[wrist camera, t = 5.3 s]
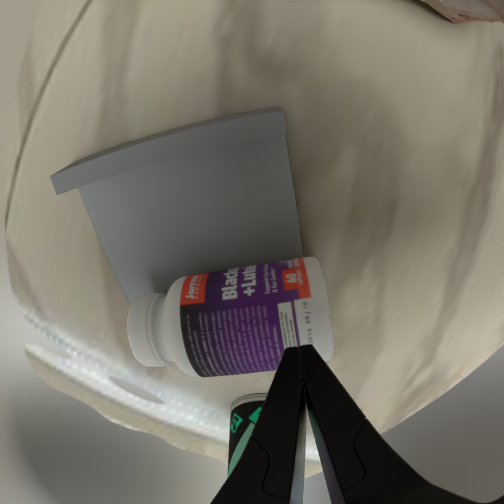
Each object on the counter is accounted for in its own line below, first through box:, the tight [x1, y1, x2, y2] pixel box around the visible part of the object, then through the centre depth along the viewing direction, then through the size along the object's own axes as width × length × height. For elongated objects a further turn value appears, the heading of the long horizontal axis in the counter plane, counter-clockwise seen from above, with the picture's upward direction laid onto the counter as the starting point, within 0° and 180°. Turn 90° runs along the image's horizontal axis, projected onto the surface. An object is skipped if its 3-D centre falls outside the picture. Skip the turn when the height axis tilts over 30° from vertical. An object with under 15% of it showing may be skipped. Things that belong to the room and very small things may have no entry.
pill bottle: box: [127, 257, 334, 377], centre depth 15 cm, size 5×5×10 cm
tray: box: [50, 107, 303, 305], centre depth 16 cm, size 11×13×2 cm
